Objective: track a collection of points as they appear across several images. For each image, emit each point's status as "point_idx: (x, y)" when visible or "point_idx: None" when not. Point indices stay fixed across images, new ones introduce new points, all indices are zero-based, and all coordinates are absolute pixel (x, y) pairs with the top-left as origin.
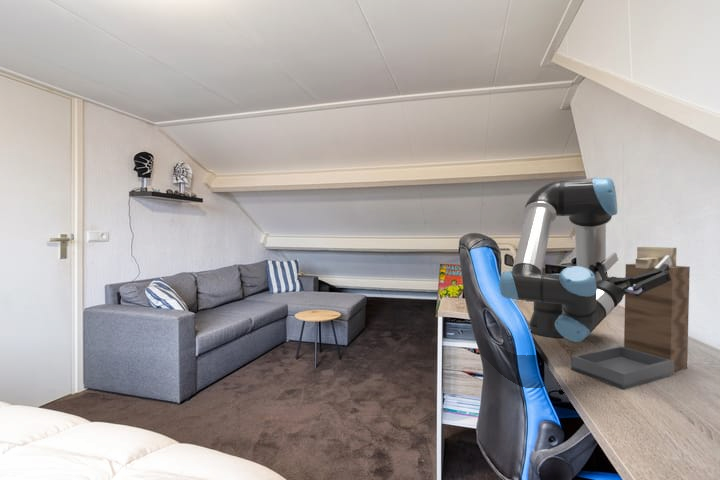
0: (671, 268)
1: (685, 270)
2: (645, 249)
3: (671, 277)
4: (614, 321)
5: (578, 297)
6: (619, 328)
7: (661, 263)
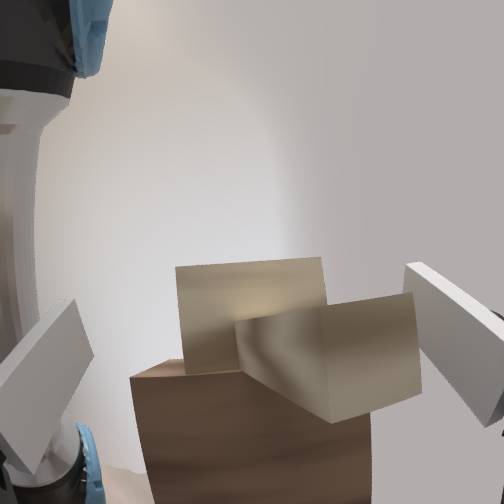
0: None
1: None
2: (215, 276)
3: None
4: (101, 472)
5: None
6: (116, 496)
7: (483, 307)
